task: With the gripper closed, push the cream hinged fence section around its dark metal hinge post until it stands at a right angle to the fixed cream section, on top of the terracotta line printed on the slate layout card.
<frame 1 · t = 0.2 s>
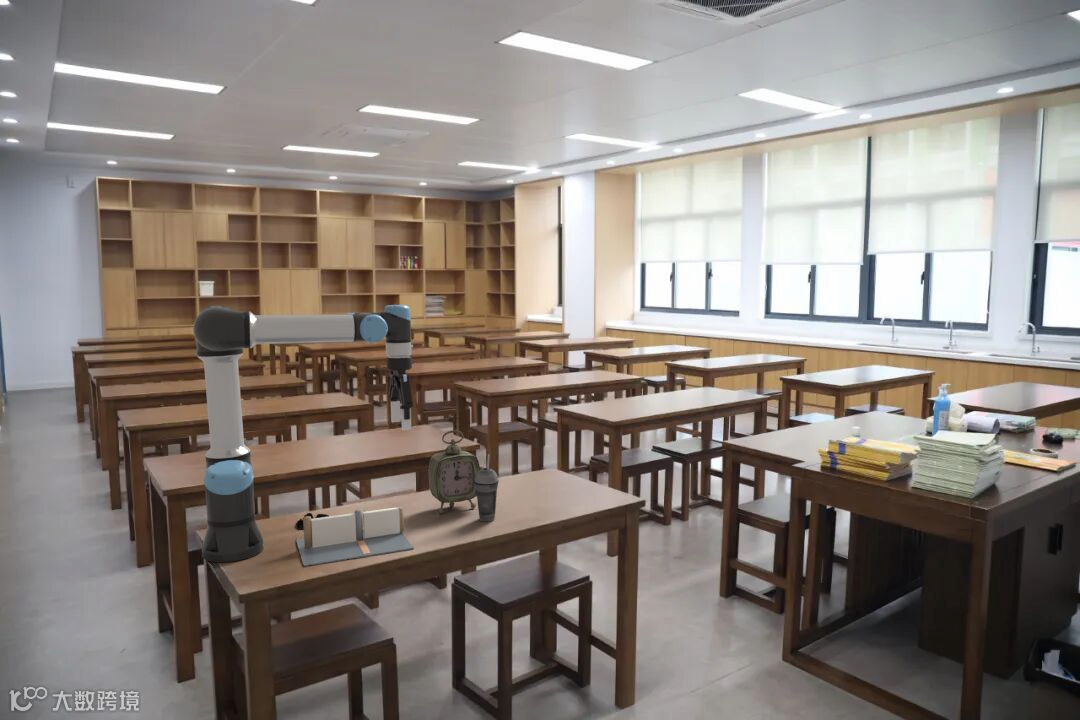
hand: (401, 426, 221), 27 cm above the table, tool pointing down, fingers open, 13 cm apart
submarine toy: (313, 526, 215), on the table
fixed fence section: (333, 544, 198), resting on layout card
beverage cup: (487, 519, 217), on the table
folding fence section: (383, 522, 203), point 4 cm above the table, hinge at 0.0°
layout card: (353, 544, 197), on the table
tabletop clock: (454, 509, 228), on the table
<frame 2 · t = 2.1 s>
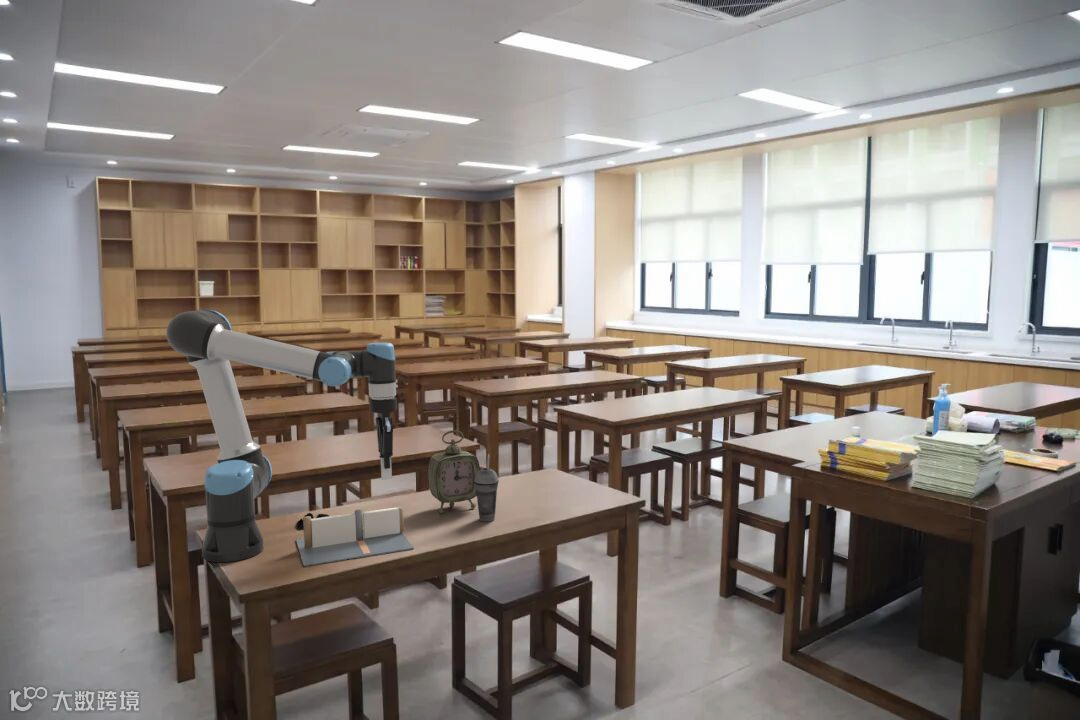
hand: (386, 478, 208), 15 cm above the table, tool pointing down, fingers closed
nothing on the table moved.
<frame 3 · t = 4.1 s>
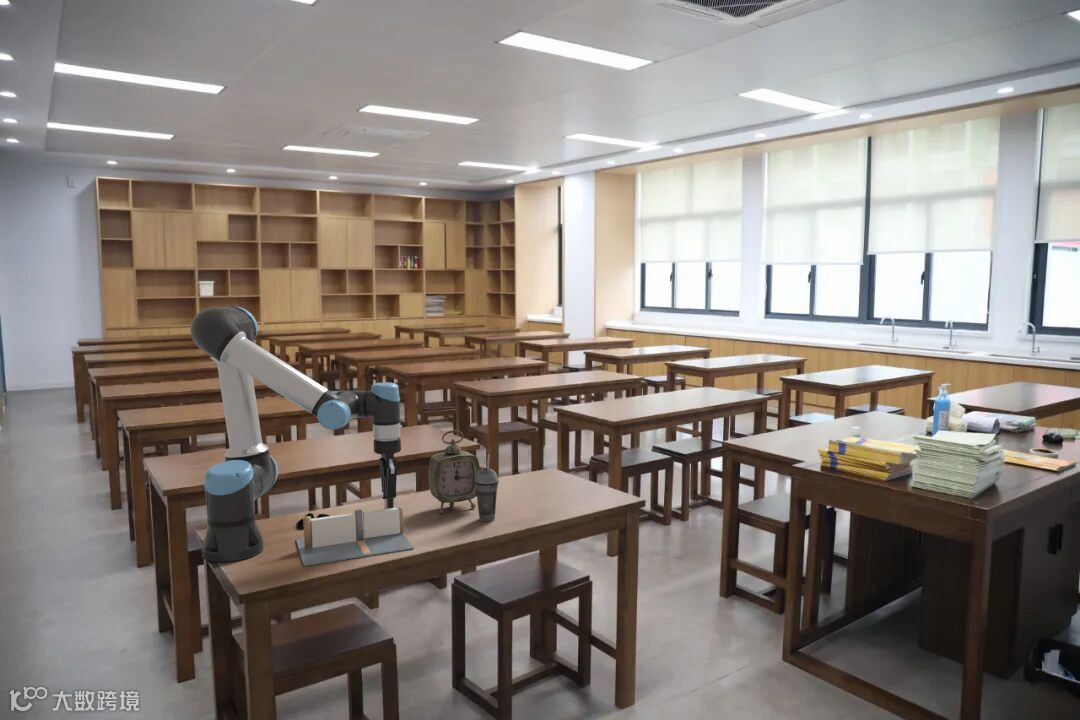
hand: (389, 519, 206), 4 cm above the table, tool pointing down, fingers closed
folding fence section: (383, 522, 203), point 4 cm above the table, hinge at -0.5°, touching gripper
everything else where it was.
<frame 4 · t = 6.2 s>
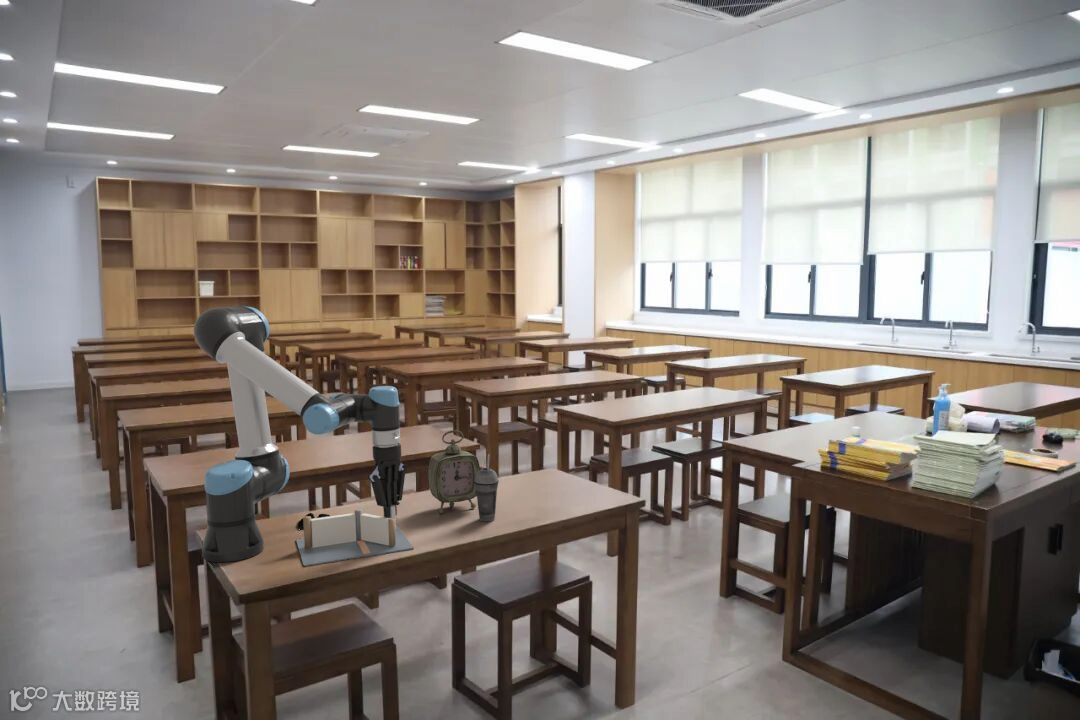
hand: (391, 528, 198), 4 cm above the table, tool pointing down, fingers closed
folding fence section: (378, 529, 197), point 4 cm above the table, hinge at -52.0°, touching gripper
everything else where it was.
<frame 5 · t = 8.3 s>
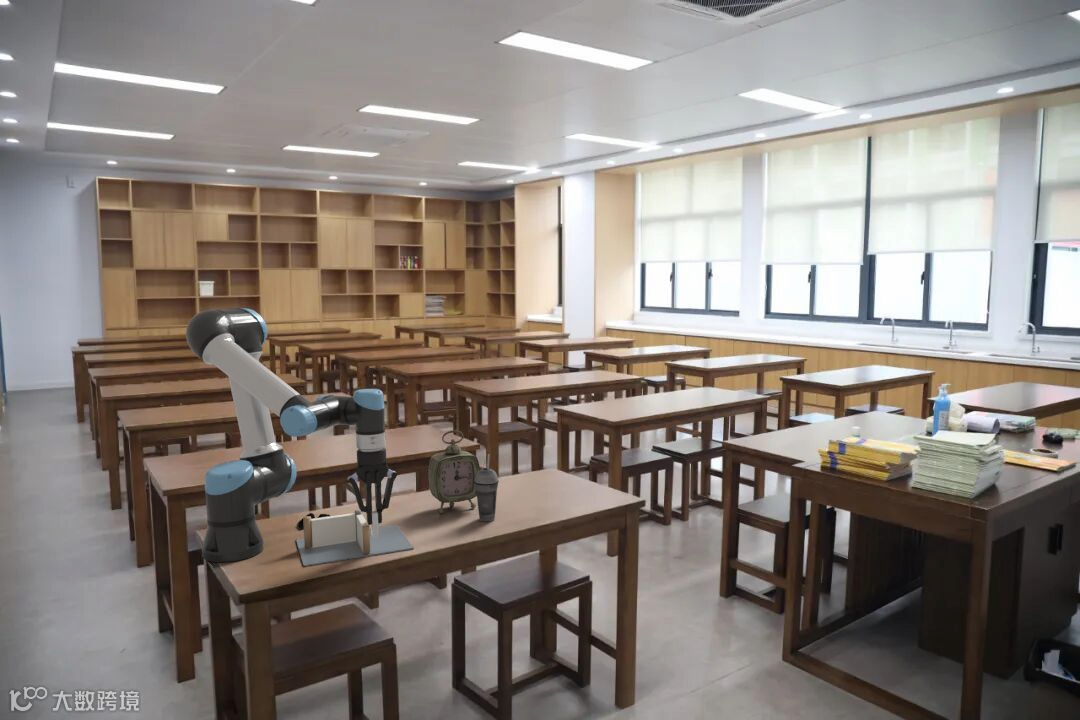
hand: (375, 535, 193), 4 cm above the table, tool pointing down, fingers closed
folding fence section: (363, 533, 194), point 4 cm above the table, hinge at -90.5°
everything else where it was.
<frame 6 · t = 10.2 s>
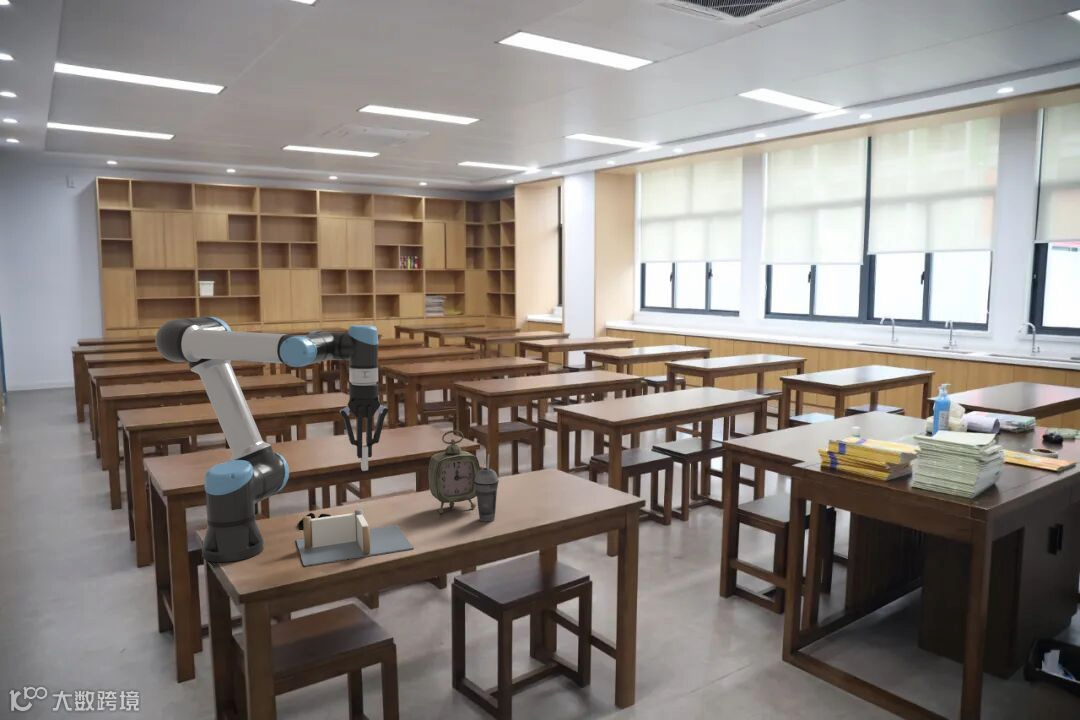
hand: (364, 469, 197), 21 cm above the table, tool pointing down, fingers closed
nothing on the table moved.
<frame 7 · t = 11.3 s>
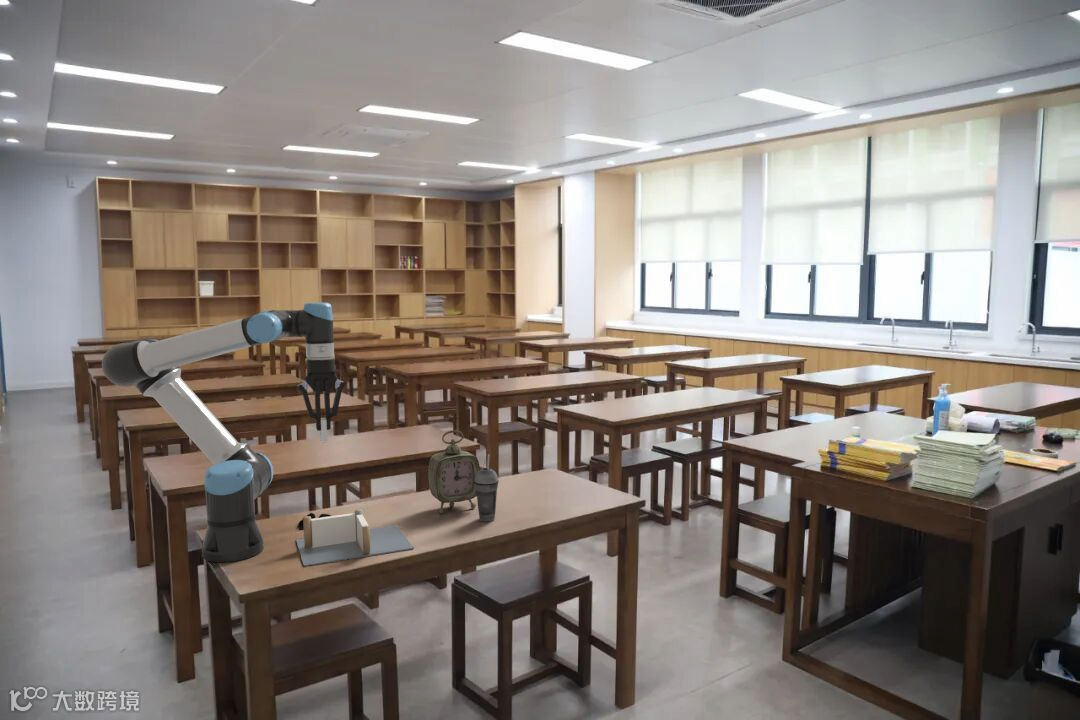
hand: (324, 441, 205), 26 cm above the table, tool pointing down, fingers closed
nothing on the table moved.
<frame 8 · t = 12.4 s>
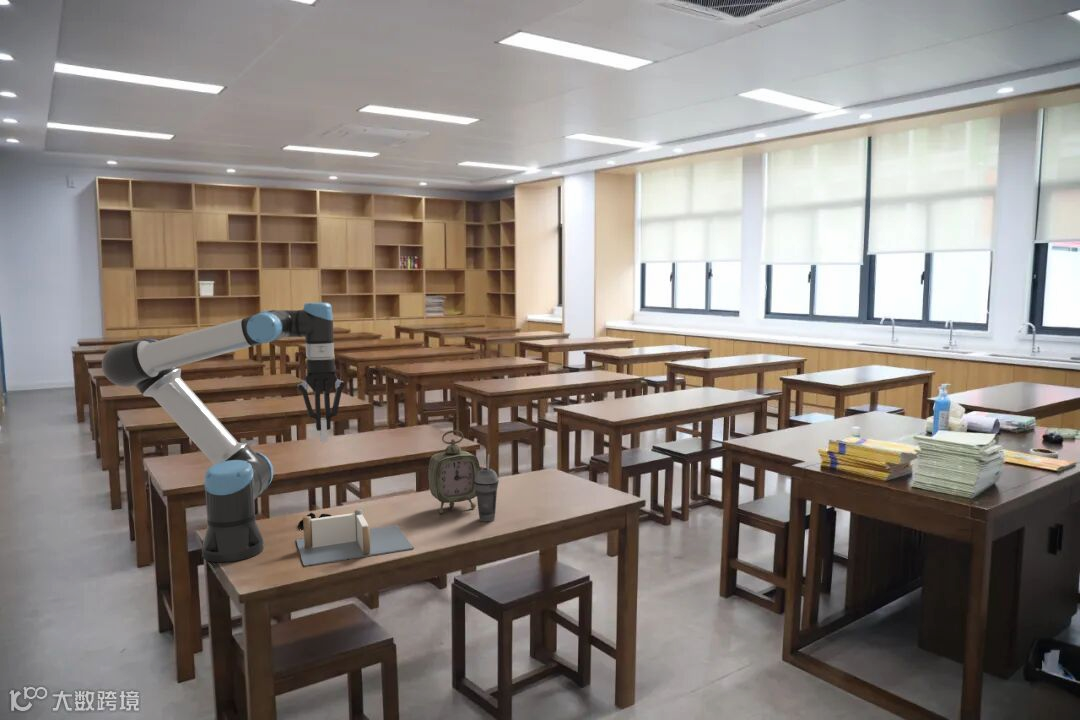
hand: (324, 441, 205), 26 cm above the table, tool pointing down, fingers closed
nothing on the table moved.
at the end: folding fence section at -90° (first picture: +0°) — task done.
